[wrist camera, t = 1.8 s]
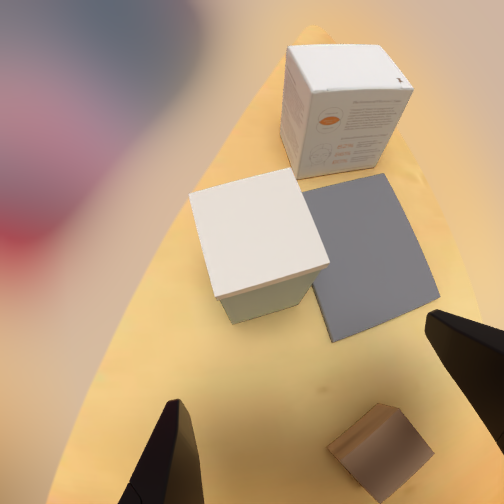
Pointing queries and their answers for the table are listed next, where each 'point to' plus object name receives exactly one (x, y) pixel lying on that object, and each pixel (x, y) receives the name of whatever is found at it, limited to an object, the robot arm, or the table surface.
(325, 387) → the table surface
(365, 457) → the walnut block
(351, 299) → the felt coaster
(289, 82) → the small box
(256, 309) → the tea tin
